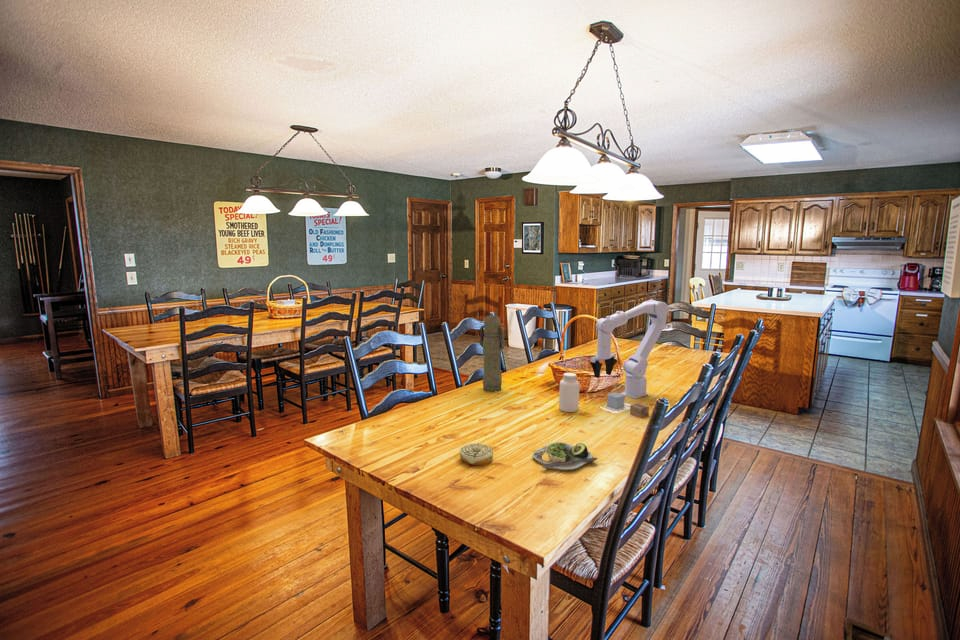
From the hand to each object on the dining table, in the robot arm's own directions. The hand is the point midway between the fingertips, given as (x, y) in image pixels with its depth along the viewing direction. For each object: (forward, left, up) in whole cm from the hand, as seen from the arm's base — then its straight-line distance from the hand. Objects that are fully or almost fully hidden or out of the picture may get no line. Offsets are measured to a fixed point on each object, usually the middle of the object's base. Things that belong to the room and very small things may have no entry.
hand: (602, 375), depth 207 cm
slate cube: (+5, +12, -10) cm, 16 cm away
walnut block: (+5, +23, -10) cm, 26 cm away
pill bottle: (+23, +2, -10) cm, 25 cm away
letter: (+5, +12, -10) cm, 16 cm away
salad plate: (+57, +33, -10) cm, 67 cm away
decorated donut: (+80, +17, -10) cm, 82 cm away
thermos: (+32, -38, -10) cm, 51 cm away
